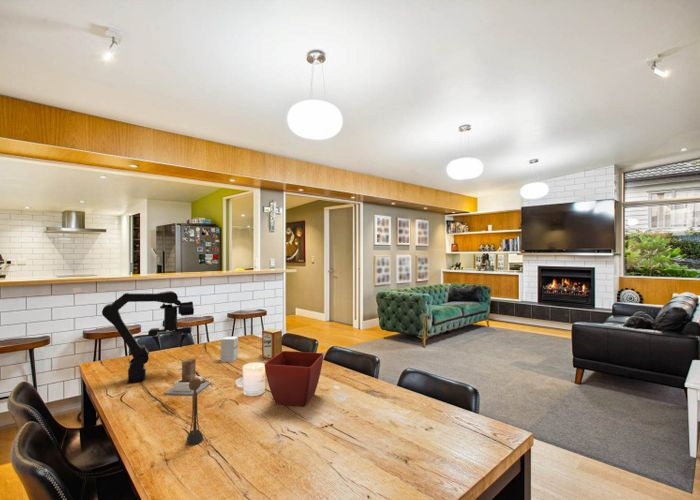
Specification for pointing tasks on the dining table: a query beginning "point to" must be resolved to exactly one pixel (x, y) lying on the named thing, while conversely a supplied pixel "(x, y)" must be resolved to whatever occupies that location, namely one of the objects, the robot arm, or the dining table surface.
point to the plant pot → (293, 376)
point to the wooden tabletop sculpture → (195, 434)
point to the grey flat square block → (185, 388)
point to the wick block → (188, 370)
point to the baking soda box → (271, 343)
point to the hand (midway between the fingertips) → (170, 348)
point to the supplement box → (229, 349)
